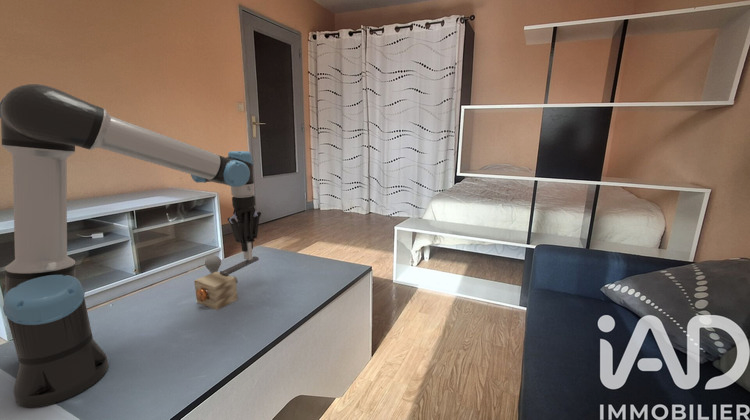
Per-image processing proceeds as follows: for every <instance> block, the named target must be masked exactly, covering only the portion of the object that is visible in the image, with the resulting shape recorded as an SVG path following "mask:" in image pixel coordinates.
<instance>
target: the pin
mask: <svg viewBox="0 0 750 420" xmlns="http://www.w3.org/2000/svg"><path fill="white" fill-rule="evenodd" d="M234 277H235V278H236V284H237V283H238V278H237V277H236V276H234ZM196 296H197V298H198V300H199V301H201V302H203V301H205V300H207V297H208V296H209V292H208V289H205V290H204V289H203V288H201V289H199V290H197V291H195V297H196ZM197 298H196V299H197Z"/></svg>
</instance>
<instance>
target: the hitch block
mask: <svg viewBox="0 0 750 420" xmlns="http://www.w3.org/2000/svg"><path fill="white" fill-rule="evenodd" d="M235 277H236V276H232V275H230V274H229V275H228V276H225V275H222V274H220V272H219V271H218V272H214V273H212V274H211V273H209V274H207V275H204V276H203V277H202V276H201V277H199V278H197V279H194V281H193V282H194V290H195V292H196V291H197V290H199V289H201V288H203V289H204V290H205V289H208V292H209V296H208V297H207V300H205V301H203V302H201V301H199V300H198V298H197V296H196V295H195V297H196V298H195V299H196V304H200V305H202V306H205V307H208V308H210V309H212V310H216V311H218V310H220V309H222V308H224V307H227V306H228V305H230V304H232V303H234V302H235V301H238V289H237V288H238V287H237V283H236V278H237V277H236V278H235Z"/></svg>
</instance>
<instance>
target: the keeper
mask: <svg viewBox="0 0 750 420" xmlns="http://www.w3.org/2000/svg"><path fill="white" fill-rule="evenodd" d="M252 258H253V259H251V260H247V259H244V260H243V261H240V262H239V263H237V264H234V265H233V266H230V267H228V268H226V269H224V270H220V272H219V273H220V274H222V275H225V276H228V275H229V276H230V275H231V274H233V273H235V272H237V271H240V270H242V269H243V268H245V267H247V266H250V265H252V264H253V263H256V262H257V261H260V260H259V257H258V256H252Z"/></svg>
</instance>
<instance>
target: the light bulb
mask: <svg viewBox="0 0 750 420" xmlns="http://www.w3.org/2000/svg"><path fill="white" fill-rule="evenodd" d="M204 261H205V262H204V266H205V267H206V269H207V270H208V271H209V272H210V274H212V273H214V272H219V269H220V267H221V265H222V260H221V258H220V257H219V256H217V255H210V256H208V257H207V258H206V259H205V260H204Z"/></svg>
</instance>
